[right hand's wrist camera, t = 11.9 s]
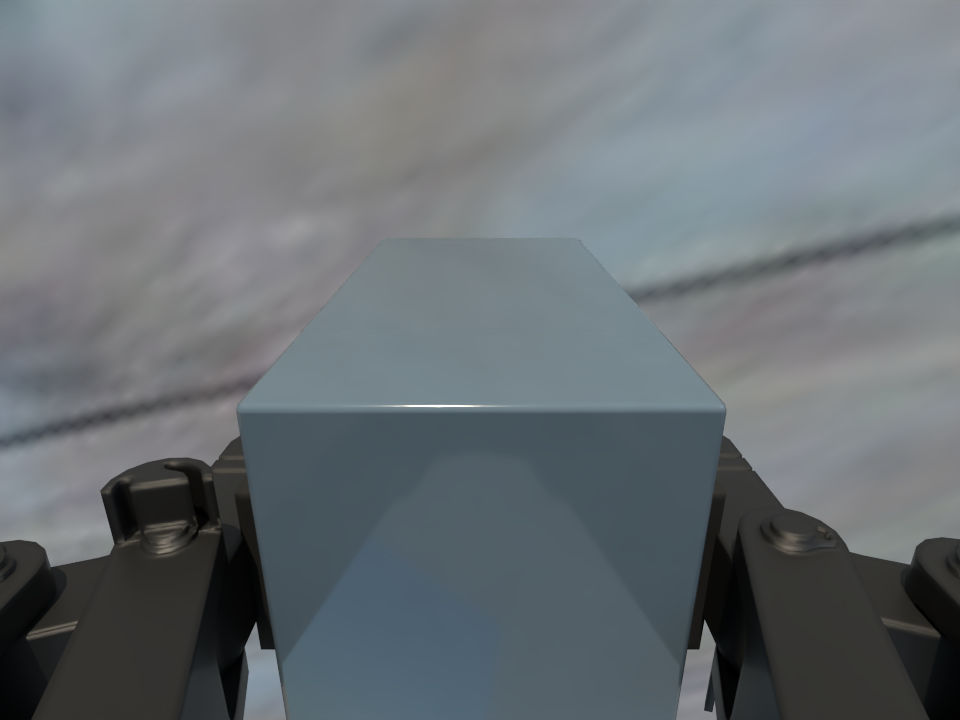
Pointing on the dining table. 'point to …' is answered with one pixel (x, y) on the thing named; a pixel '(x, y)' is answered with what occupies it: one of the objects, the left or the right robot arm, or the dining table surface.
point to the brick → (481, 491)
